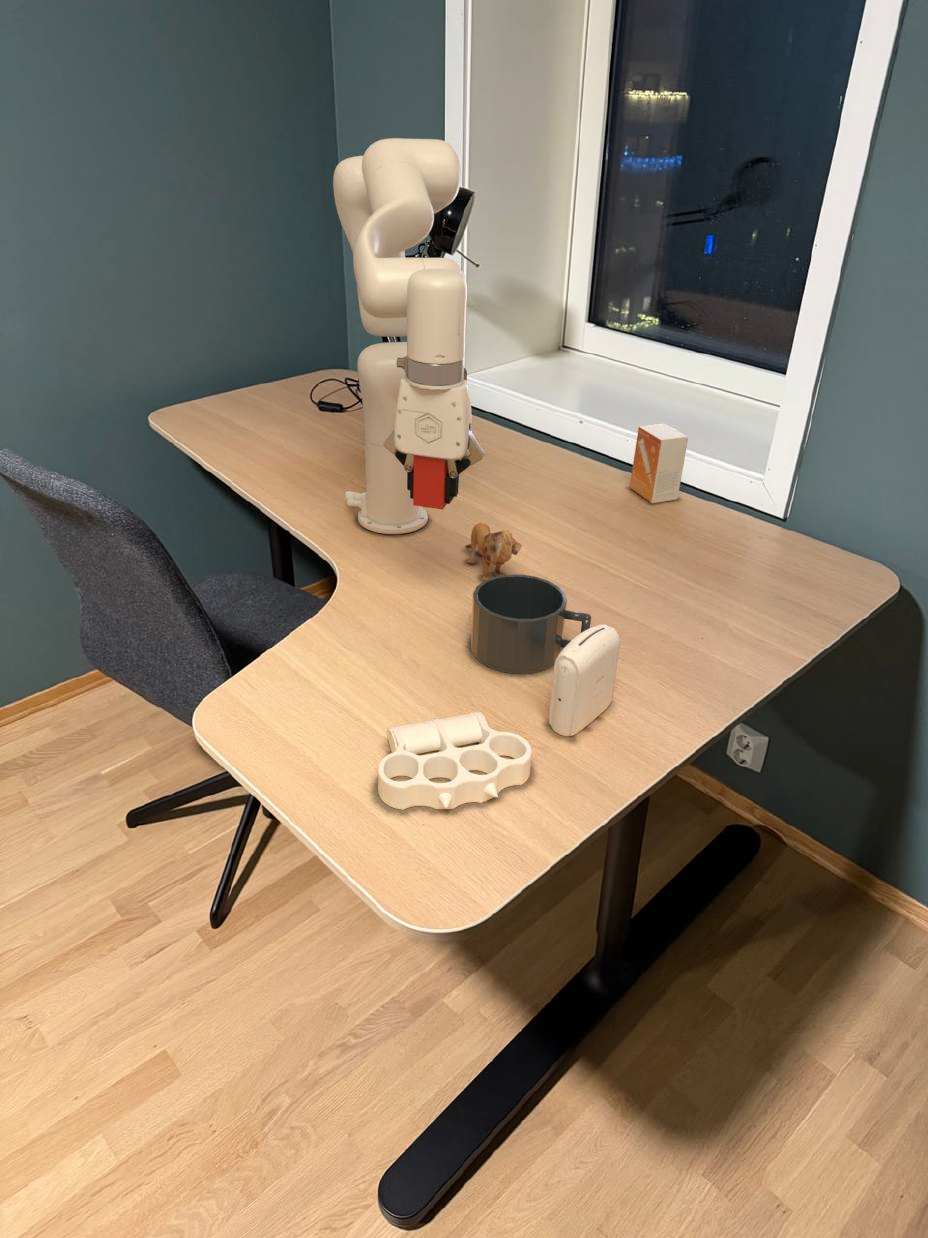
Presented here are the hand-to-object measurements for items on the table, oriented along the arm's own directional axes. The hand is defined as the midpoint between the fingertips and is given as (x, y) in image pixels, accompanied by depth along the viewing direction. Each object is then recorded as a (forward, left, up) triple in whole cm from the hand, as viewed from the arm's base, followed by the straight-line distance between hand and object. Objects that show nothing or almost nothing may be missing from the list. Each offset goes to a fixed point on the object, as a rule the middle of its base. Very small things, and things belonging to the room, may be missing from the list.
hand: (432, 496), depth 125 cm
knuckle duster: (+13, -36, -18) cm, 43 cm away
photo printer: (+26, -21, -18) cm, 38 cm away
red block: (0, 0, -1) cm, 1 cm away
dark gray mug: (+17, -8, -18) cm, 26 cm away
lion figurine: (+6, +14, -18) cm, 23 cm away
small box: (+30, +55, -18) cm, 65 cm away
